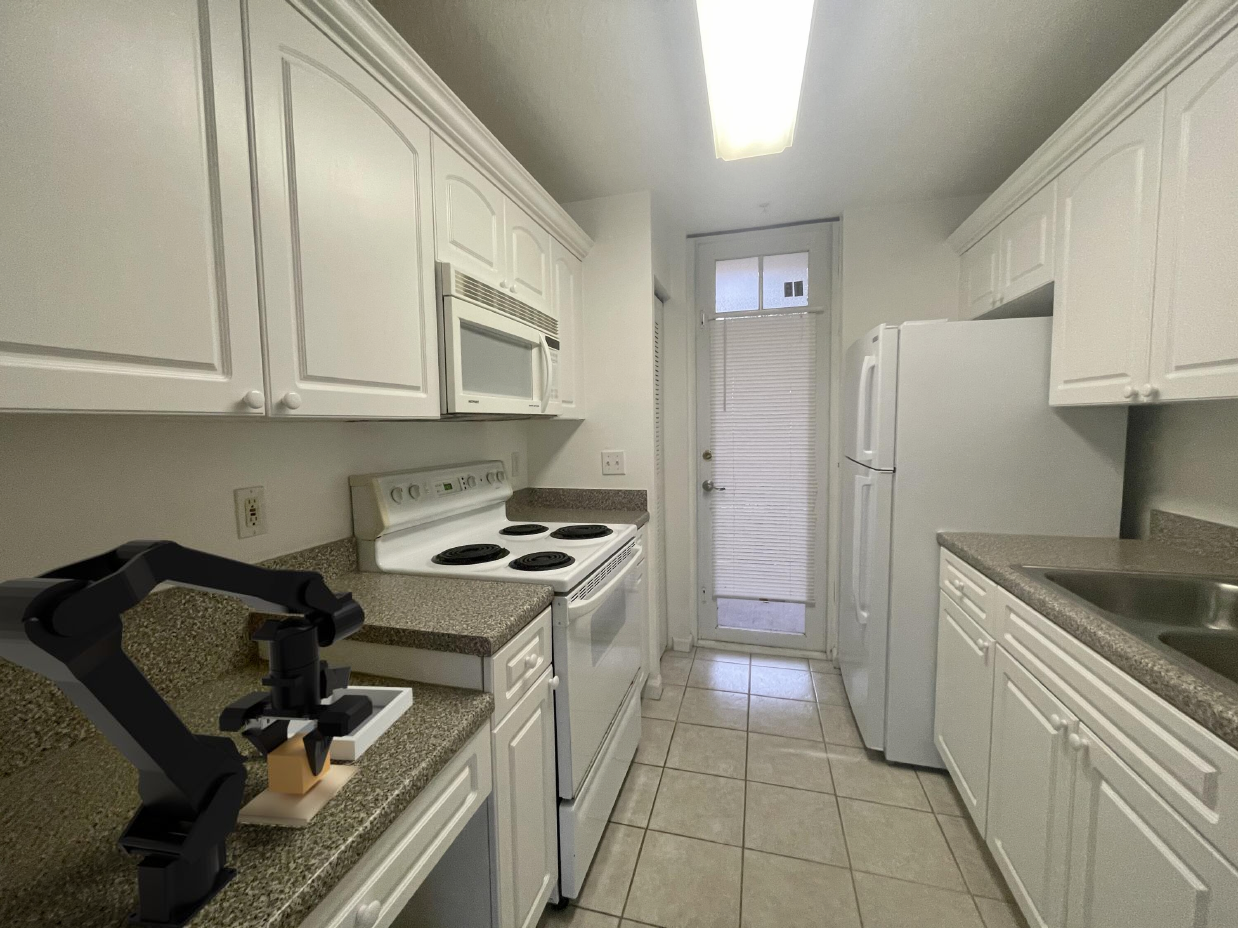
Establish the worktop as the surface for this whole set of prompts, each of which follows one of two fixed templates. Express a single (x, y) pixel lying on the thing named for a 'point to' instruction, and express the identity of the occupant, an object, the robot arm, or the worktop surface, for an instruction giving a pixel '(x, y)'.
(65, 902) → the worktop surface
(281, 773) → the block
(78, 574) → the robot arm
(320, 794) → the pad
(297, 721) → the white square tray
